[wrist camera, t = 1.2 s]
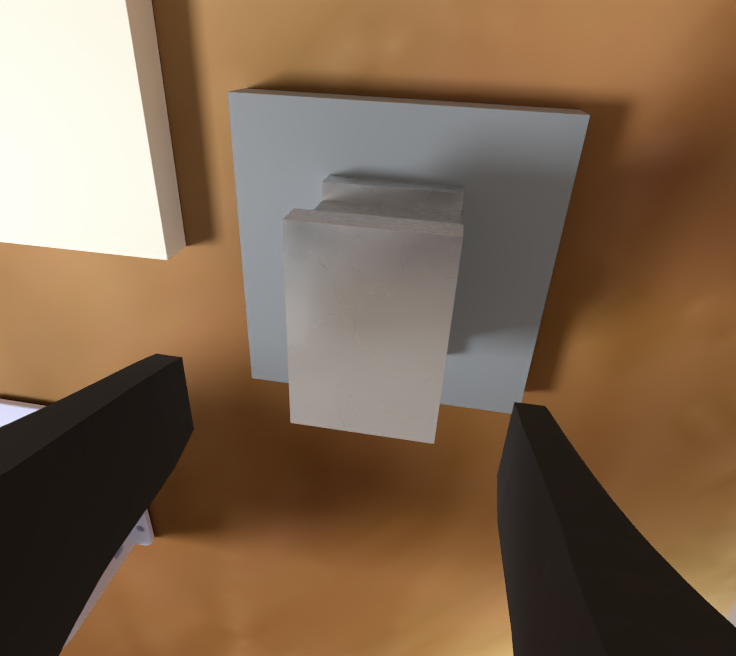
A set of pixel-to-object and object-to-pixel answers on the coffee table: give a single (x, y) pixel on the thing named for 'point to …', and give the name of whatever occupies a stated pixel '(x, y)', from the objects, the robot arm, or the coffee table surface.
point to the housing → (371, 304)
